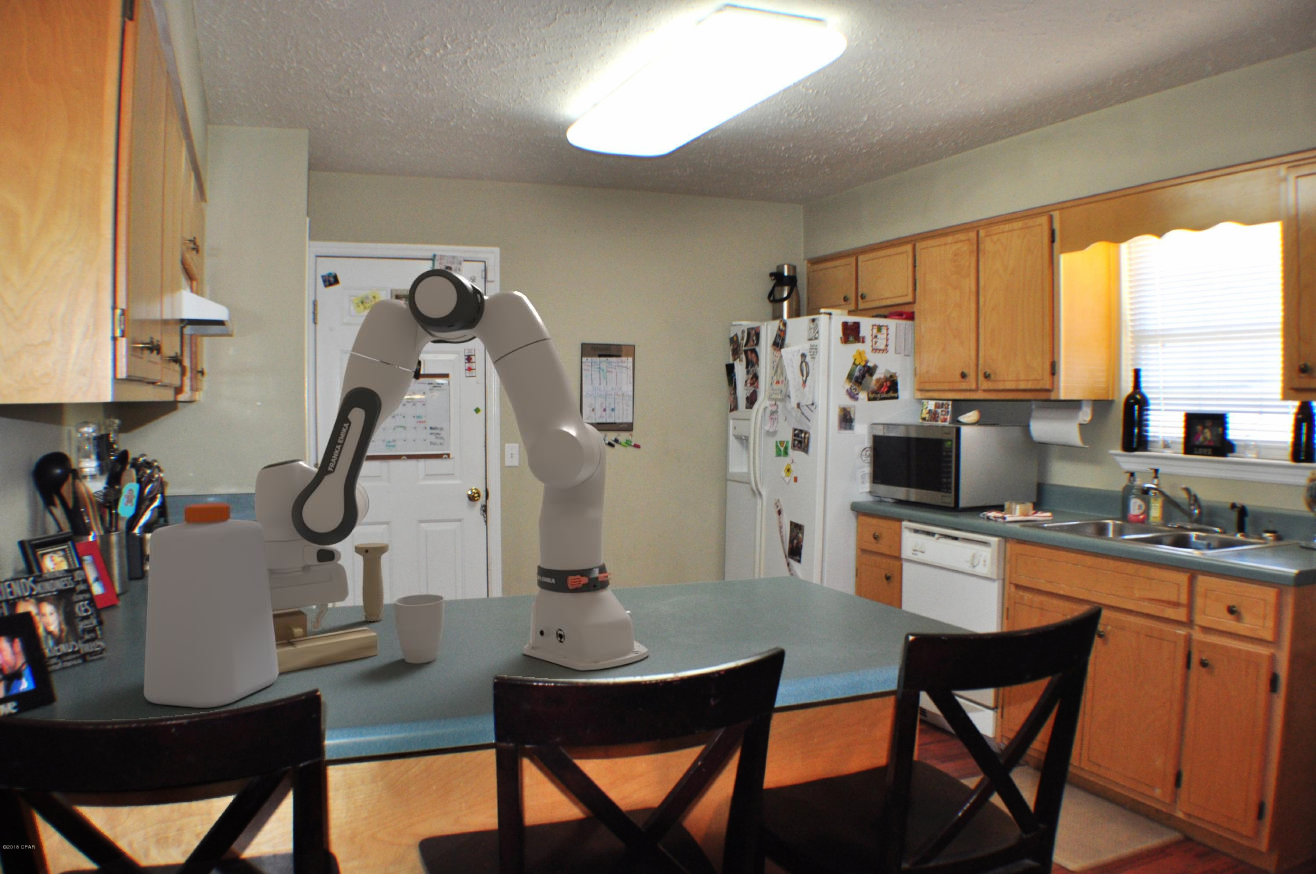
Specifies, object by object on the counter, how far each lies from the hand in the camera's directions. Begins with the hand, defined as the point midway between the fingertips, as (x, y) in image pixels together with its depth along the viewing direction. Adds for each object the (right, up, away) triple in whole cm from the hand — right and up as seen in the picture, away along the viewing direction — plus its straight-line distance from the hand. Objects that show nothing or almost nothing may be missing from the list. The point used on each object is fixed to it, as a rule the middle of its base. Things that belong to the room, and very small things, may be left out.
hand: (287, 634), depth 146 cm
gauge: (+2, -3, -2) cm, 4 cm away
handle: (+7, -3, +22) cm, 24 cm away
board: (+8, -3, -4) cm, 9 cm away
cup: (+24, -3, -4) cm, 25 cm away
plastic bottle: (-3, -4, -19) cm, 19 cm away
